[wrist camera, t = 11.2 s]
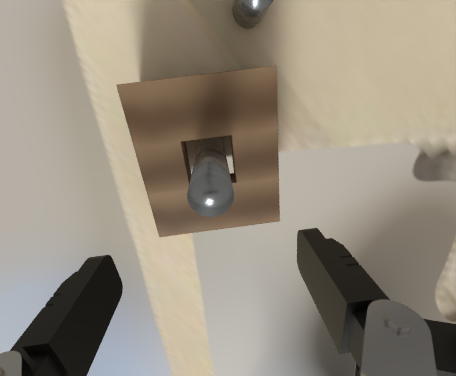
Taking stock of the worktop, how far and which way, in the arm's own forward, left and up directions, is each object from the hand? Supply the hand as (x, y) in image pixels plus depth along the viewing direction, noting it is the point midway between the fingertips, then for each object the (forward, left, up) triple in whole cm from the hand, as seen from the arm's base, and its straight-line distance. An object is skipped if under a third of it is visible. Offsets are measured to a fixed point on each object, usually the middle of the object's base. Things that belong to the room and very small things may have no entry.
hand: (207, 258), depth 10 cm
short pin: (-14, +6, -21) cm, 26 cm away
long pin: (0, 0, -21) cm, 21 cm away
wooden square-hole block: (0, 0, -21) cm, 21 cm away
